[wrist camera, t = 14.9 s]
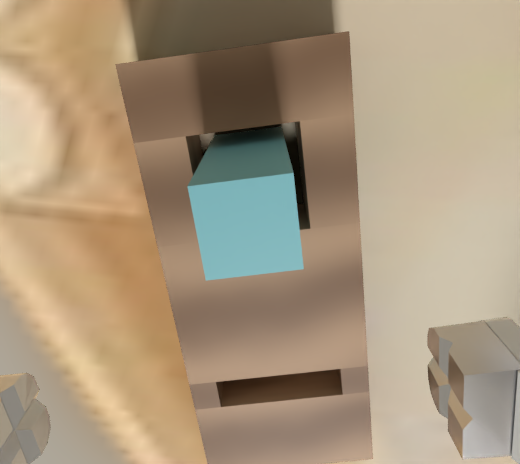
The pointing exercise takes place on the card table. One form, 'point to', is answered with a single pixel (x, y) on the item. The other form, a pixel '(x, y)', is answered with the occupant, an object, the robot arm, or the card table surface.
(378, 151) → the card table surface
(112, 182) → the card table surface
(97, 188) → the card table surface
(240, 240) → the peg
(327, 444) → the socket block
